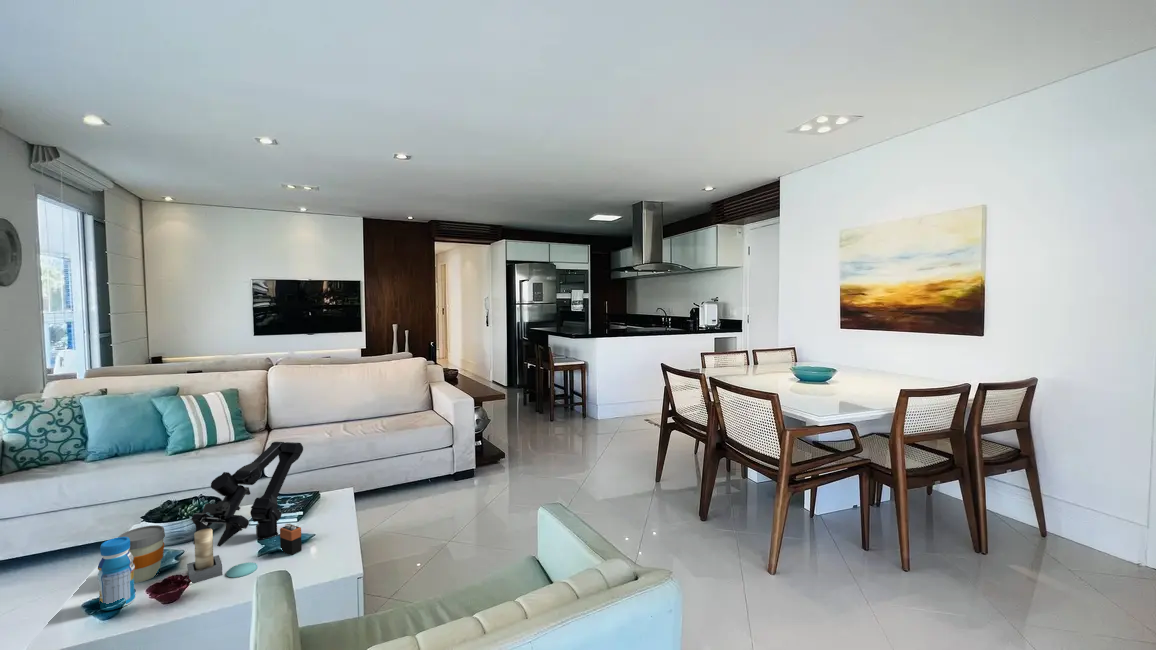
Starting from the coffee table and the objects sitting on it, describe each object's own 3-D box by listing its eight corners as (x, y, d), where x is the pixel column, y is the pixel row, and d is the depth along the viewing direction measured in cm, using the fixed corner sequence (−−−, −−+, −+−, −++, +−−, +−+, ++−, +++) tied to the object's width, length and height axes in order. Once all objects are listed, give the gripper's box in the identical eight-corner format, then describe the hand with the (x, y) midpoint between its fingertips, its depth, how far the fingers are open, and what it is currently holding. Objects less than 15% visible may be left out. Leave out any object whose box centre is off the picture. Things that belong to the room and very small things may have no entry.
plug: (212, 568, 174) (211, 527, 173) (214, 574, 170) (213, 532, 169) (195, 573, 170) (193, 531, 170) (196, 580, 167) (195, 536, 166)
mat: (255, 561, 179) (255, 559, 179) (259, 571, 172) (259, 569, 172) (224, 570, 173) (224, 568, 173) (228, 581, 166) (228, 579, 166)
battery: (291, 546, 190) (290, 521, 189) (302, 550, 187) (301, 525, 186) (279, 551, 186) (279, 525, 185) (291, 556, 183) (290, 529, 182)
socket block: (219, 564, 177) (218, 554, 176) (222, 574, 170) (222, 564, 170) (187, 573, 171) (186, 563, 170) (189, 584, 164) (189, 574, 164)
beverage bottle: (113, 614, 148) (111, 549, 147) (91, 610, 150) (88, 546, 149) (143, 597, 157) (140, 536, 156) (121, 594, 158) (118, 533, 157)
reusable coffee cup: (141, 565, 176) (140, 524, 175) (175, 566, 175) (174, 525, 175) (106, 585, 163) (105, 541, 162) (143, 586, 163) (142, 542, 162)
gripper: (194, 490, 177) (166, 535, 166) (242, 493, 174) (216, 538, 164) (213, 503, 185) (188, 546, 174) (259, 506, 182) (236, 550, 172)
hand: (206, 545), depth 171 cm, fingers open, 9 cm apart
